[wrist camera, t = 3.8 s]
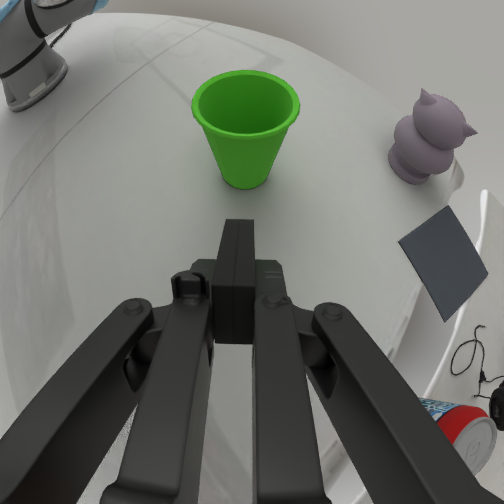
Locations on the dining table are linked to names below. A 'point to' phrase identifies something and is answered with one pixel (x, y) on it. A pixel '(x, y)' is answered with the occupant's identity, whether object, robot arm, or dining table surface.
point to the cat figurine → (428, 138)
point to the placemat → (445, 261)
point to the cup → (245, 122)
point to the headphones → (500, 404)
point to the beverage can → (465, 430)
